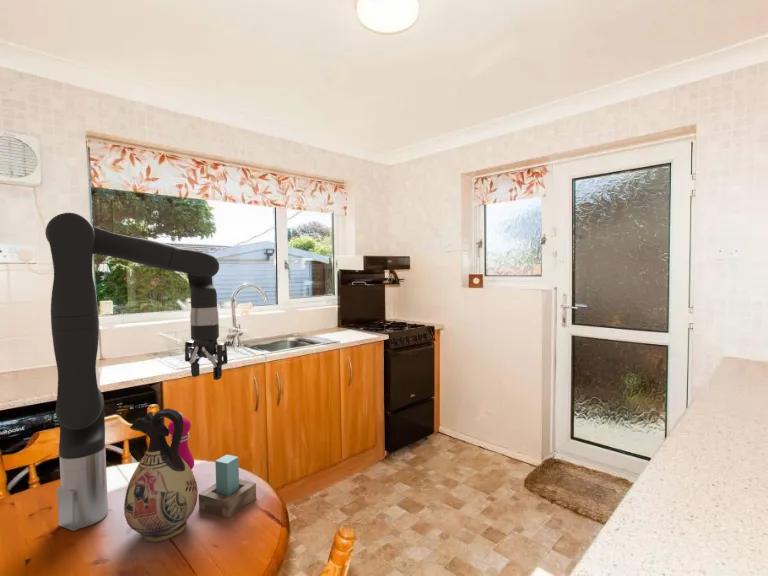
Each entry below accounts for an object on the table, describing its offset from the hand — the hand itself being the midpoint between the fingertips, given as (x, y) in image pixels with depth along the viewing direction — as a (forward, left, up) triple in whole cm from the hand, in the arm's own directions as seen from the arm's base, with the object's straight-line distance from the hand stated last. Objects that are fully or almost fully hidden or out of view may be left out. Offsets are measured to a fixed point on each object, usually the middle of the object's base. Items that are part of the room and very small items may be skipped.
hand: (206, 377), depth 122 cm
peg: (-8, -15, -30) cm, 35 cm away
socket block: (-8, -15, -30) cm, 35 cm away
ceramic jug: (-23, -10, -30) cm, 39 cm away
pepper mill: (-4, +7, -30) cm, 31 cm away
